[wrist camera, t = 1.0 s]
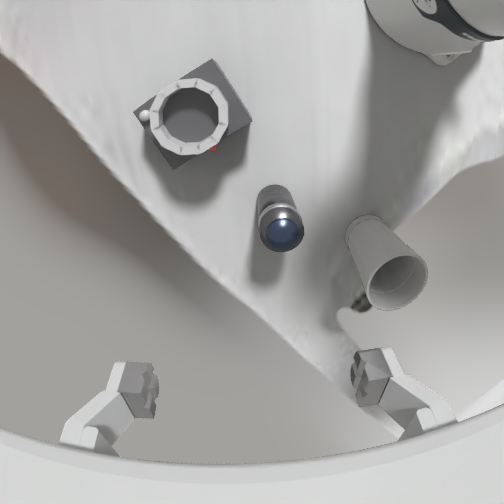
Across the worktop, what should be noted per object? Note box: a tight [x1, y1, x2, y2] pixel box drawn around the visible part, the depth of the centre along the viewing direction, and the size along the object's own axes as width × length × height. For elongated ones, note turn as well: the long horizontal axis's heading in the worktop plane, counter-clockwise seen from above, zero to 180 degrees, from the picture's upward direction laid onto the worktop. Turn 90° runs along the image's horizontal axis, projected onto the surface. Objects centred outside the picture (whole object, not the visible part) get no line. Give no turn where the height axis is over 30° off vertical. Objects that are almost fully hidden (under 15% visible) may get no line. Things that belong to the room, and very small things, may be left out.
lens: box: [257, 185, 304, 252], centre depth 37 cm, size 5×5×9 cm
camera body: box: [133, 59, 252, 170], centre depth 32 cm, size 10×9×7 cm
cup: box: [345, 215, 428, 311], centre depth 39 cm, size 8×8×12 cm
